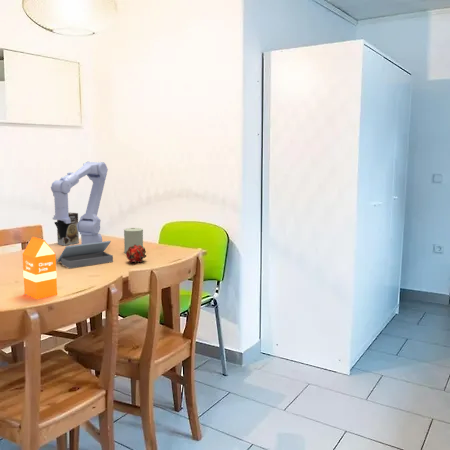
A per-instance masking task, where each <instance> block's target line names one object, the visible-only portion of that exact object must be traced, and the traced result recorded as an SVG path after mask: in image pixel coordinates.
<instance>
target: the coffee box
mask: <svg viewBox="0 0 450 450" xmlns="http://www.w3.org/2000/svg"><path fill="white" fill-rule="evenodd" d="M68 213H69V218H70V219H71V223H70V224H69V226H68V229H67V233H66V237H65V238H60V236H59V232H58V229H56V231H57V233H56V234H57V245H60V246H65V247H66V246H72V245H78V244H79V243H80V241H79V240H80V238H79V236H80V232H79V231H78V230H77V224H78V222H79V213H78V212H68ZM56 222H58V220H56Z"/></svg>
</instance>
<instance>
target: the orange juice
mask: <svg viewBox="0 0 450 450" xmlns="http://www.w3.org/2000/svg"><path fill="white" fill-rule="evenodd" d="M21 254H22V269H23V271H22V272H23V273H22V274H23V286H24V287H23V289H24V290H23V291H24V295H25V294H27V295H26V296H28V295H29V296H28V297H30V296H31V297H30V298H32V297H33V298H32V299H35V300H41V299H44V298H49V297H54V296H57V295H58V283H57V262H56V261H57V260H56V252H54V250H53V249H52V248H51V247H50V245H49V244H48V243H47V241H46V240H45V239H43V238H39V237H36V236H31V239H30V240H29V242H28V244H27V245H26V248H25V249H24V251H23V252H22V253H21Z"/></svg>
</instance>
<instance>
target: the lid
mask: <svg viewBox="0 0 450 450" xmlns="http://www.w3.org/2000/svg"><path fill="white" fill-rule="evenodd" d="M111 242H112V241H111V240H106V241H102V242H96V243H88V244H81V243H80V244H72V245H67V246H65V248H64V249H63V251H62V252H61V255H60V256H59V257H58V259H57V260H56V261H57V262H56V263H61V258H63V257H70V256H78V255H85V254H92V253H100V252H106V249H107V248H108V246H110V244H111Z"/></svg>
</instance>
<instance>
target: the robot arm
mask: <svg viewBox="0 0 450 450" xmlns="http://www.w3.org/2000/svg"><path fill="white" fill-rule="evenodd" d="M108 170H109V169H108V167H107V164H106V163H105V162H103V161H102V162H101V161H100V162H99V161H98V162H97V161H86V162H85V163H83V164H82V166H81V167H80V168H78V169H77V170H76V171H75V172H71V171H69V172H67V173H66V175H65V176H62V177H60V179H55V180H54V181H53V182H52V183H51V186H50V190H51V192H52V196H53V197H54V199H53V200H54V215H53V217H52V220H54V225H55V226H56V228H57V229H58V232H59V236H60V238H65V237H66V233H67V229H68V226H69V224H70V223H71V219H70V218H69V213H70V212H69V193H70V192H71V189H72V188H73V187H74V186H76V185H77V184H78V183H79V182H80V179H82V178H83V177H86V176H87V178H88V179H89V180H91V182H92V185H91V190H90V195H89V198H88V202H87V206H86V210H85V213H84V214H83V215H81V216H80V217H79V218H80V219H79V220H78V224H77V230H78V232H79V235H80V236H81V237H80V238H81V243H80V244H88V243H96V242H103V236H102V234H101V233H100V230H101V219H100V217H98V212H99V208H100V204H101V199H102V195H103V192H104V187H105V182H106V179H107V174H108ZM57 220H58V222H57ZM57 229H56V230H57Z"/></svg>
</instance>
